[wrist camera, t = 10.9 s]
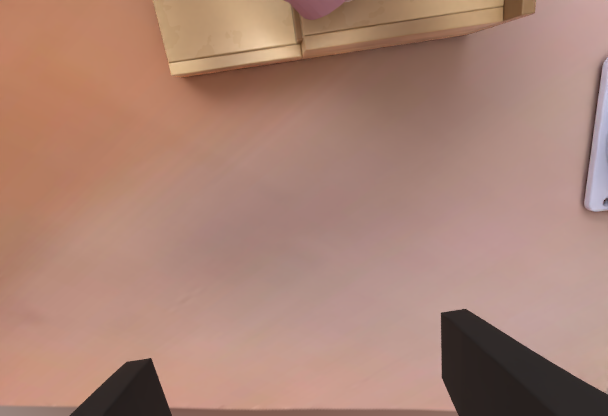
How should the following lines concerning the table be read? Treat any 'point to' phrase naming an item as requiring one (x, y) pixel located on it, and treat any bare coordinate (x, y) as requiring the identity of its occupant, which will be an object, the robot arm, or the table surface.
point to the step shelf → (311, 29)
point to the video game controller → (315, 7)
